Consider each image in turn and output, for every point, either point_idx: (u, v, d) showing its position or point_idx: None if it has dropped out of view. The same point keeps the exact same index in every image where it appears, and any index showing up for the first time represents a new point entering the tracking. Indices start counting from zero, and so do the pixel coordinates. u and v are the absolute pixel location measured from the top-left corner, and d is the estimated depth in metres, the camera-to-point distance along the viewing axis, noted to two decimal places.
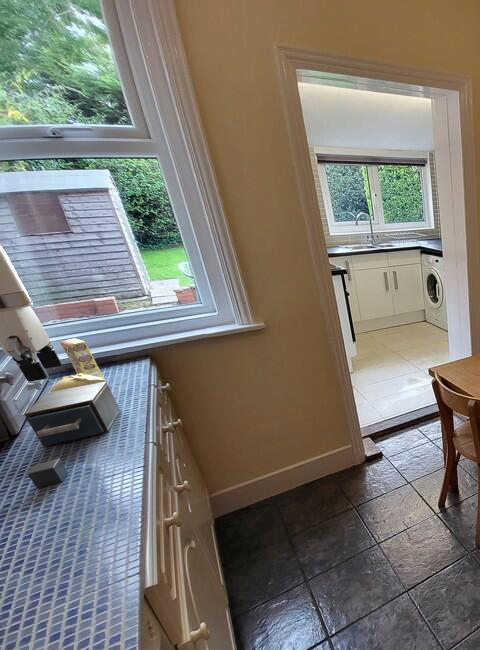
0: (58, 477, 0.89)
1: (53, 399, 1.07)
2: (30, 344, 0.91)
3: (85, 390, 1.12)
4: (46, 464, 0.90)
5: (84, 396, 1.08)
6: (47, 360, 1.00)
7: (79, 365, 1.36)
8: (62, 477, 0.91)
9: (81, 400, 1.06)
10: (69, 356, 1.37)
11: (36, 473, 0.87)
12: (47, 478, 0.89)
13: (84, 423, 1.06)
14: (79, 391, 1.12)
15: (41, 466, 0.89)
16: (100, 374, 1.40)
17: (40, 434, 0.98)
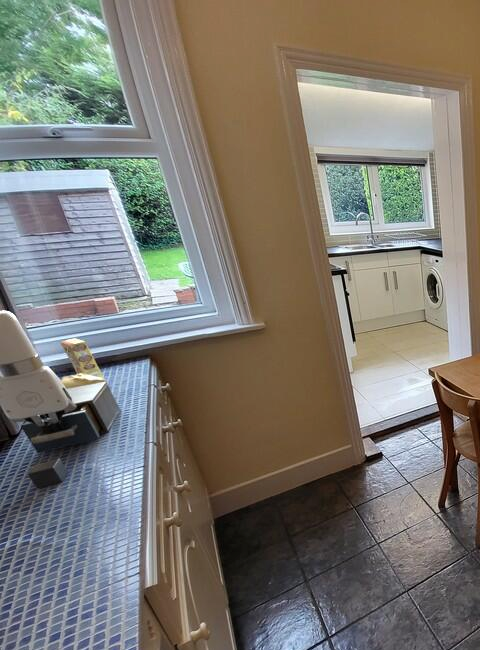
0: (58, 477, 0.89)
1: None
2: None
3: (85, 390, 1.12)
4: (46, 464, 0.90)
5: (84, 396, 1.08)
6: None
7: (79, 365, 1.36)
8: (62, 477, 0.91)
9: (81, 400, 1.06)
10: (69, 356, 1.37)
11: (36, 473, 0.87)
12: (47, 478, 0.89)
13: (79, 429, 1.03)
14: (79, 391, 1.12)
15: (41, 466, 0.89)
16: (100, 374, 1.40)
17: (34, 441, 0.95)
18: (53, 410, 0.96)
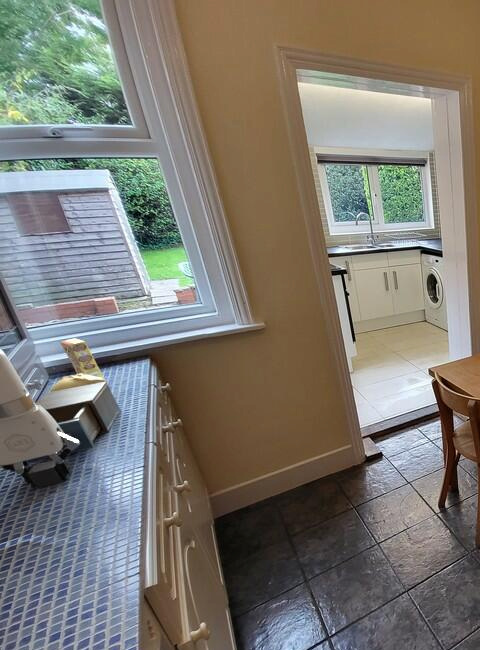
0: (58, 477, 0.89)
1: (53, 399, 1.07)
2: None
3: (85, 390, 1.12)
4: (46, 464, 0.90)
5: (84, 396, 1.08)
6: None
7: (79, 365, 1.36)
8: None
9: (81, 400, 1.06)
10: (69, 356, 1.37)
11: (36, 473, 0.87)
12: (47, 478, 0.89)
13: None
14: (79, 391, 1.12)
15: (41, 466, 0.89)
16: (100, 374, 1.40)
17: None
18: (46, 453, 0.87)
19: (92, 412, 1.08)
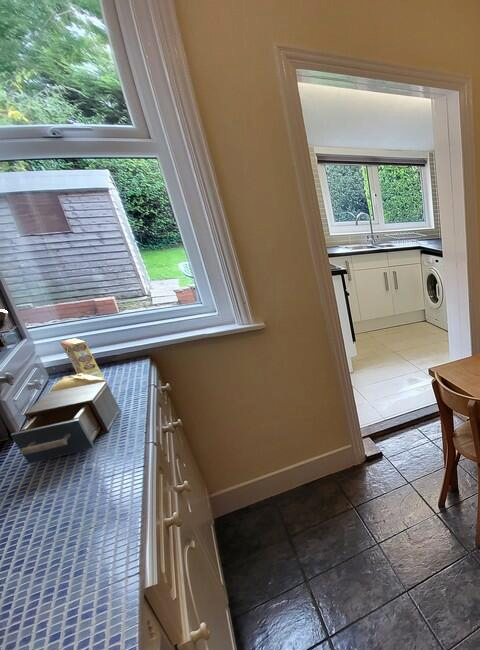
0: None
1: (53, 399, 1.07)
2: None
3: (85, 390, 1.12)
4: None
5: (84, 396, 1.08)
6: None
7: (79, 365, 1.36)
8: None
9: (81, 400, 1.06)
10: (69, 356, 1.37)
11: None
12: None
13: (72, 438, 0.99)
14: (79, 391, 1.12)
15: None
16: (100, 374, 1.40)
17: (25, 452, 0.91)
18: None
19: (92, 412, 1.07)
